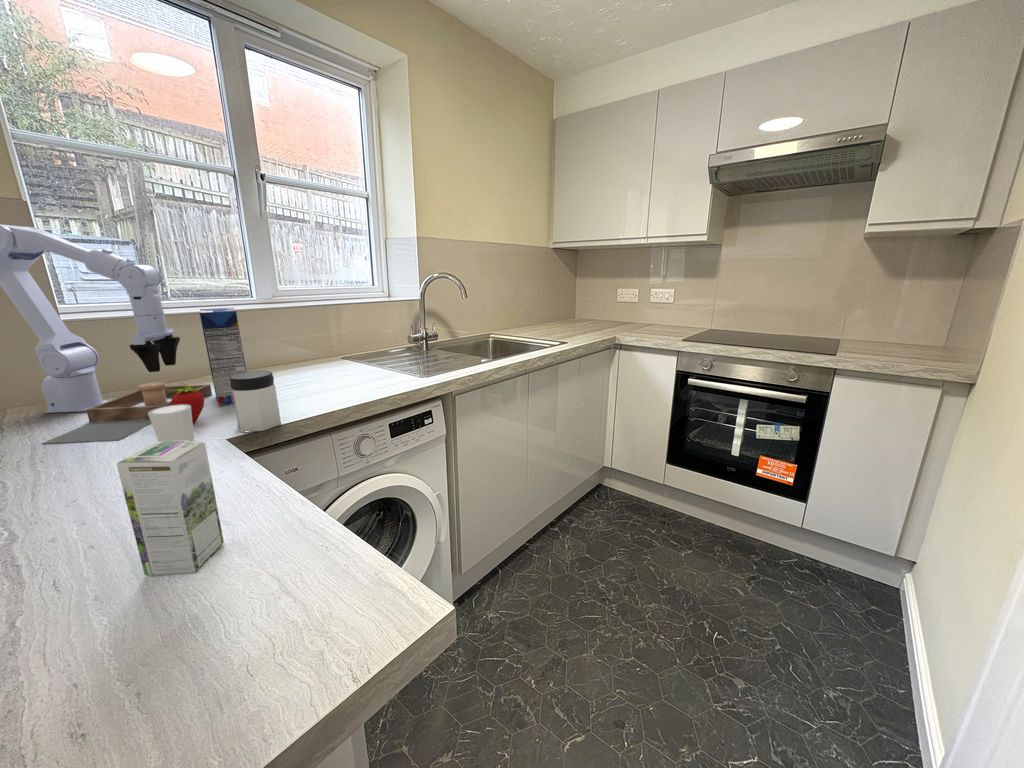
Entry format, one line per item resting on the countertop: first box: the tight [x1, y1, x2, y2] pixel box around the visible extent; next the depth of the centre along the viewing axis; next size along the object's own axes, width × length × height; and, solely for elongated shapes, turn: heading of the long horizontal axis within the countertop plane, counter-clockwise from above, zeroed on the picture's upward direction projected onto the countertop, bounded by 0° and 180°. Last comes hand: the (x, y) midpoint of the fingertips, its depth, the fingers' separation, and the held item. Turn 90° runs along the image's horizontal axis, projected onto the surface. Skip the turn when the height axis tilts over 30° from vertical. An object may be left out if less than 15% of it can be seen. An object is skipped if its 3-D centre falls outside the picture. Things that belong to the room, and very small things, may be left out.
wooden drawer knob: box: [137, 381, 168, 406], centre depth 106 cm, size 5×5×6 cm
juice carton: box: [199, 307, 247, 407], centre depth 110 cm, size 12×8×24 cm, turn 35°
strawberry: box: [170, 381, 205, 424], centre depth 94 cm, size 6×8×10 cm
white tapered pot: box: [148, 404, 195, 442], centre depth 84 cm, size 7×7×7 cm
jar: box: [229, 369, 282, 433], centre depth 92 cm, size 9×8×12 cm
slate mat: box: [41, 419, 152, 445], centre depth 90 cm, size 14×12×1 cm
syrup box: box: [116, 440, 225, 577], centre depth 49 cm, size 6×6×14 cm
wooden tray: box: [85, 383, 213, 423], centre depth 106 cm, size 16×20×3 cm
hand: (162, 368), depth 106 cm, fingers open, 7 cm apart
